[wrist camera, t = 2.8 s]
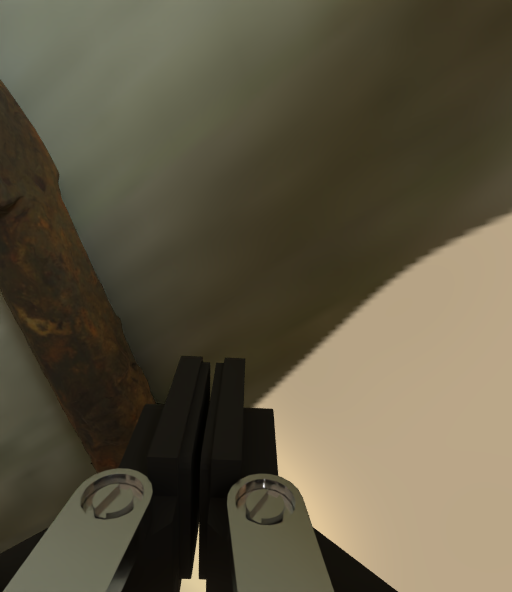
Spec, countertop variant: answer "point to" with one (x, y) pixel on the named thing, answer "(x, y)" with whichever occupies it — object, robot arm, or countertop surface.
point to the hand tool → (63, 297)
